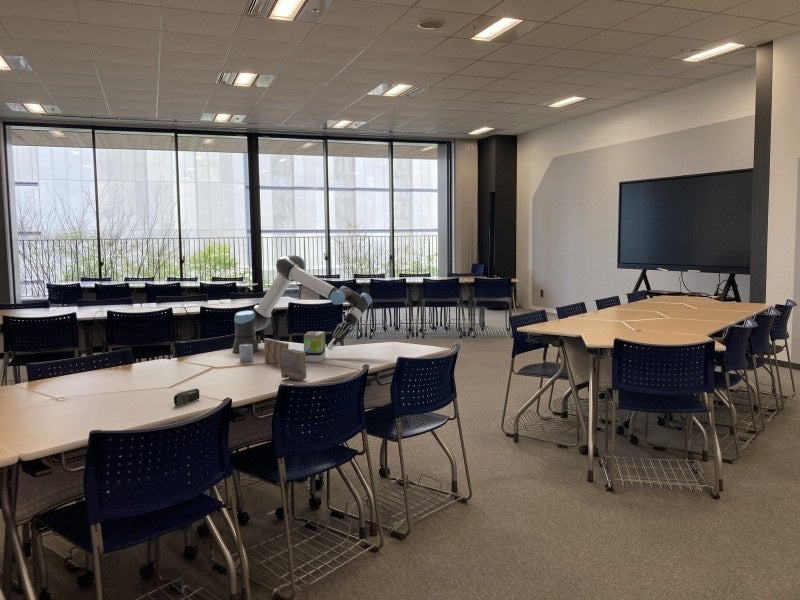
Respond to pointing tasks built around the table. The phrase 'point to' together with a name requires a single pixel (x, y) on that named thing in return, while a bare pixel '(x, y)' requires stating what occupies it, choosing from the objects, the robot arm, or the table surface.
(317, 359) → the tea box
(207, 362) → the table surface
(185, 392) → the dark grey elongated bar
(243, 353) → the grey capsule cylinder
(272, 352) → the board
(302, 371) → the geological specimen
